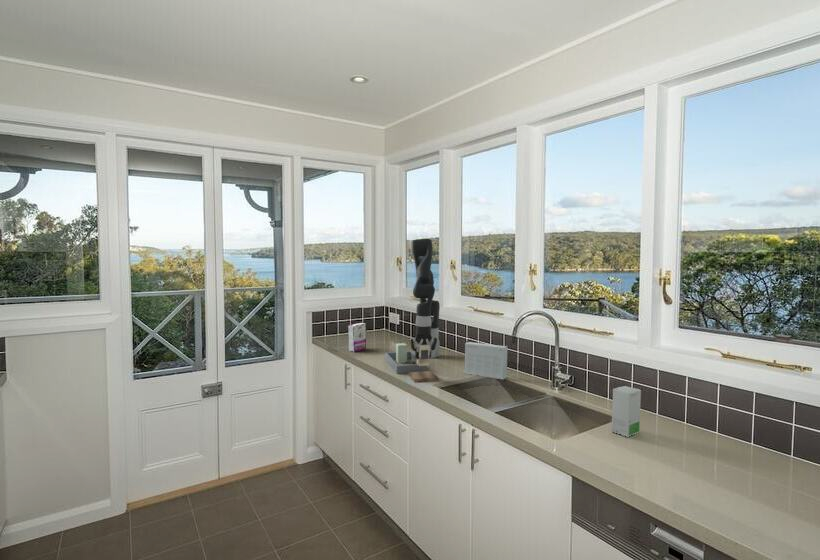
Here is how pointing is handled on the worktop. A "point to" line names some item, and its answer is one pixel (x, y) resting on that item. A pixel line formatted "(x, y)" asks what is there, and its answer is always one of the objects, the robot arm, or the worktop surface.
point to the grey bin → (404, 368)
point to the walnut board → (423, 376)
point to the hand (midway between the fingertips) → (423, 358)
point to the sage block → (401, 353)
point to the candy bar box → (357, 337)
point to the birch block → (423, 355)
